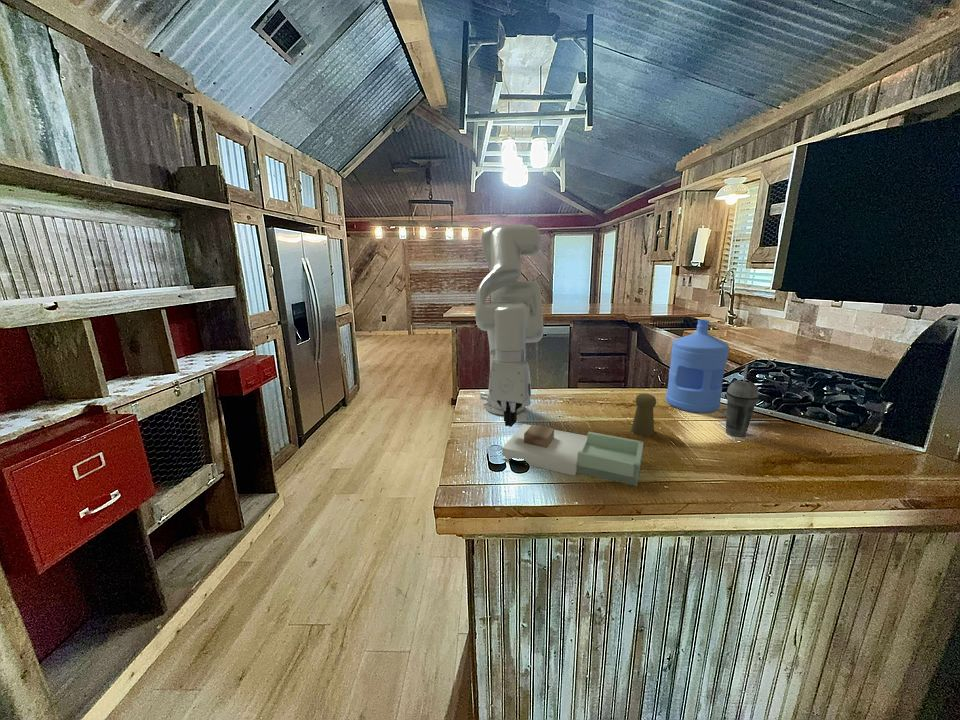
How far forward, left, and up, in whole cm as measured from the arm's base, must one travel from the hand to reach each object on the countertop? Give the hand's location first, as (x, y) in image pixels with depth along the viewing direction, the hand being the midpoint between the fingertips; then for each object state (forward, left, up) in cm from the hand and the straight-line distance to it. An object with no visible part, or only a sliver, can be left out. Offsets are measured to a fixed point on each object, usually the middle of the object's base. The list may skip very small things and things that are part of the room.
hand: (510, 424), depth 98 cm
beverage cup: (+54, +32, -7) cm, 63 cm away
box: (+25, +1, -6) cm, 26 cm away
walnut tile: (+8, +1, -3) cm, 8 cm away
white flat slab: (+10, +1, -6) cm, 12 cm away
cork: (+31, +23, -7) cm, 39 cm away
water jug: (+44, +51, -7) cm, 68 cm away
